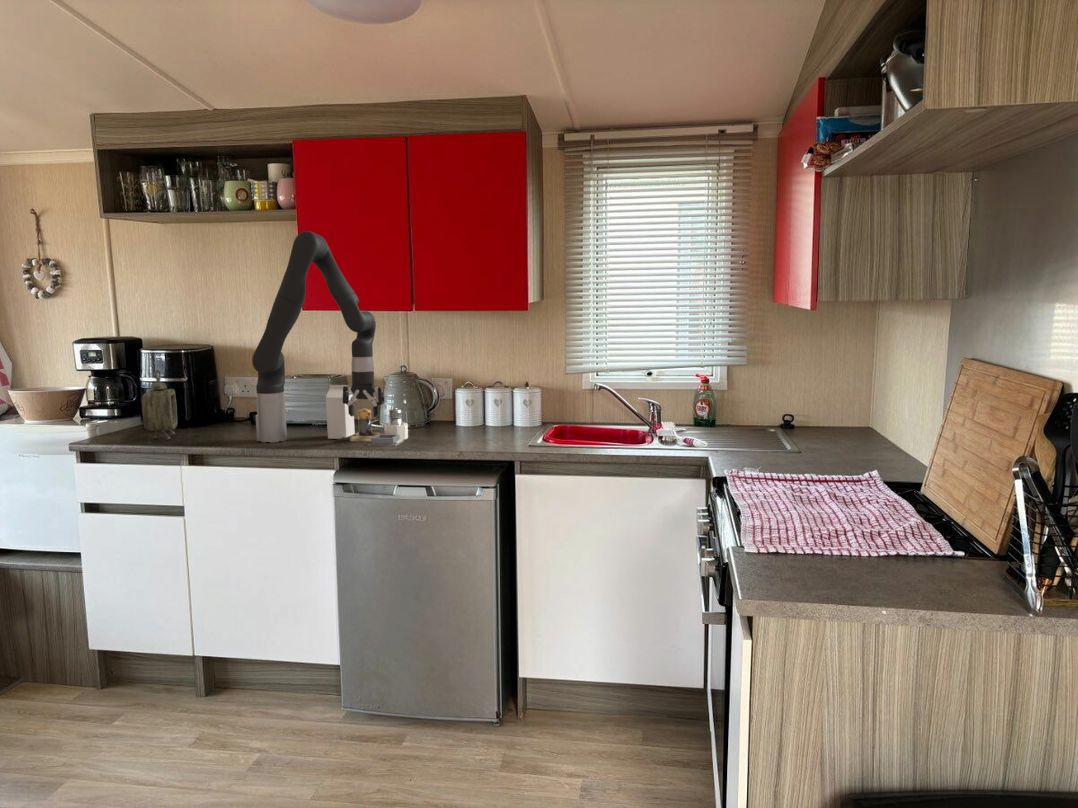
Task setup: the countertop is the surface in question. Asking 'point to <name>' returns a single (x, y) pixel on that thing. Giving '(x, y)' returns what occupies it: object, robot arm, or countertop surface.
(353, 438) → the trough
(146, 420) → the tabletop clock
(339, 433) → the milk carton
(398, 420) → the cell
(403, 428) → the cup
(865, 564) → the countertop surface
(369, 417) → the cell
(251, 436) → the countertop surface
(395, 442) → the grey flat block
